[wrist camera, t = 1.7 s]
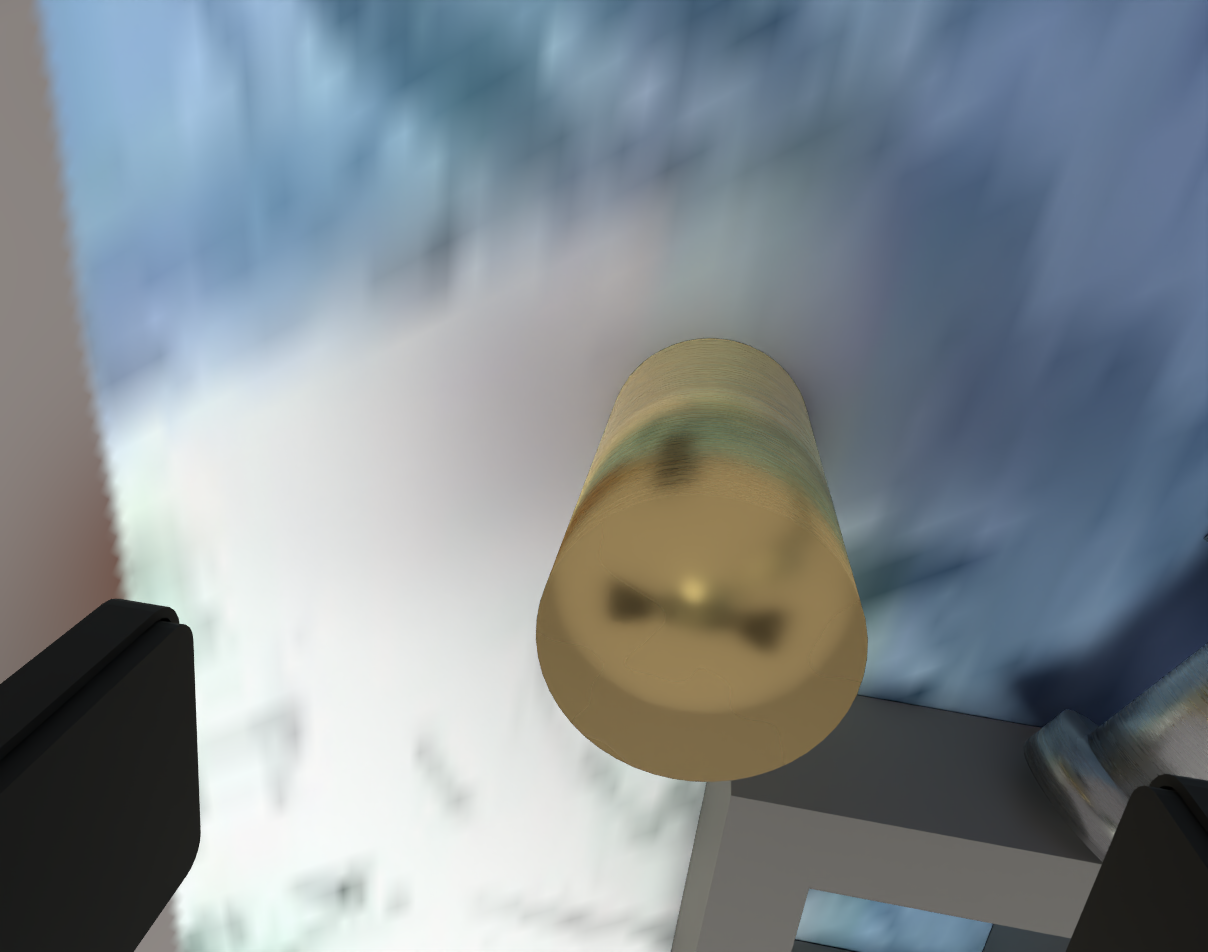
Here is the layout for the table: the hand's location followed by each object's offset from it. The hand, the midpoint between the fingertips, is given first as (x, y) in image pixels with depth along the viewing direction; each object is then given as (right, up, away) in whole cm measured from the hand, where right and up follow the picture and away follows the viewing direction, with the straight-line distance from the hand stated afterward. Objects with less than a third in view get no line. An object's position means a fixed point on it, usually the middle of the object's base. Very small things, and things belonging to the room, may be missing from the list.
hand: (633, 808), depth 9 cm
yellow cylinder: (+2, +4, +9) cm, 10 cm away
